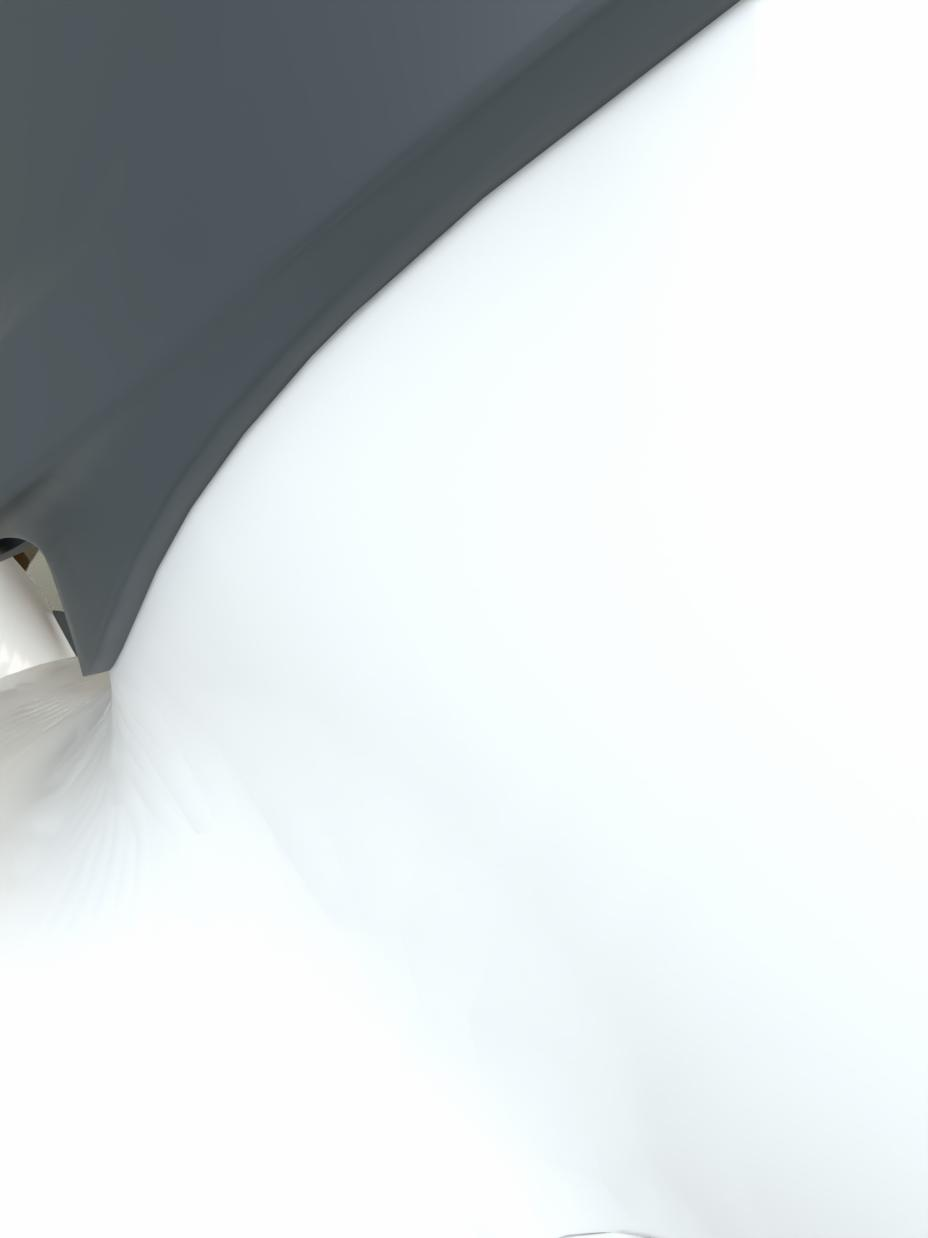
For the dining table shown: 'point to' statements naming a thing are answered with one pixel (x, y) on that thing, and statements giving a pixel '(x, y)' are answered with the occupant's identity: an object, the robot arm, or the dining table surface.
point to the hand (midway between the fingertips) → (125, 847)
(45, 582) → the dining table surface
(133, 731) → the robot arm
